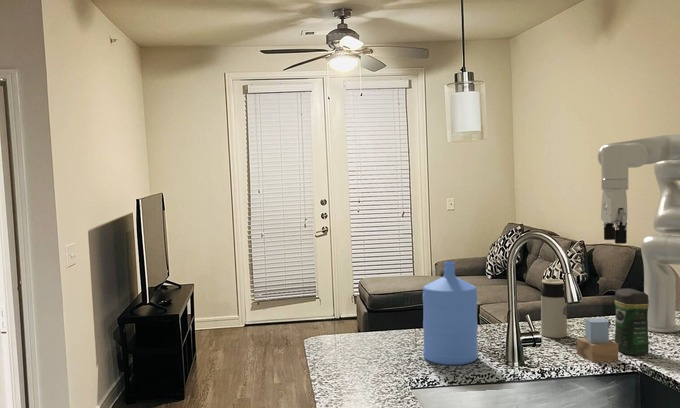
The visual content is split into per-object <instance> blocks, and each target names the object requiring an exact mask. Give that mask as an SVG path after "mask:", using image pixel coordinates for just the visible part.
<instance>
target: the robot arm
mask: <svg viewBox="0 0 680 408" xmlns="http://www.w3.org/2000/svg"><path fill="white" fill-rule="evenodd" d="M597 161H598V163H599V165H600V166H601V169H600V172H601V179H600V180H601V186H600V187H601V191H602V194H601V206H600V208H601V210H600V219H601V221H602V222H603V240H605V241H614V243H615V244H617V245H618V244H620V245H621V244H627V243H628V242H627V236H628V235H627V230H628V226H627V225H628V196H627V191H628V190H629V169H634V168H640V167H643V166H644V165H652V164H653V171H654V176H655V179H656V182H657V185H658V188H659V193H660V194H659V199H658V203H657V207H656V210H655V214H654V218H653V221H652V222H653V225H652V226H653V229H654V231H655V232H657V233H659V234H651V235H647V236H646V237H644V238H643V239H642V241H641V244H640V251H641V256H642V262H643V280H644V281H643V292H644V293H645V294H647V295H648V299H649V307H648V332H654V333H677V332H679V331H680V325H679V324H677V323H676V302H677V301H676V299H677V298H676V297H677V296H676V294H677V293H676V291H677V290H676V282H677V280H676V275H675V273H674V271H673V269H672V267H671V266H670V265H676V266H680V184H679V182H680V134H663V135H655V136H650V137H646V138H637V139H632V140H626V141H624V140H623V141H619V142H618V141H617V142H611V143H606V144H603V145H602V146H601V147H600V148H599V150H598V152H597ZM678 181H679V182H678Z"/></svg>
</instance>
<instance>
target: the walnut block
mask: <svg viewBox="0 0 680 408" xmlns="http://www.w3.org/2000/svg"><path fill="white" fill-rule="evenodd" d="M576 342H577V343H576V344H577V345H576V347H577V348H576V349H577V351H576V355H577V356H580V357H581V356H582V357H581V358H584V360H587V361H589V362H591V363H598V362H599V363H600V362H612V361H613V362H614V361H619V351H618V343H616V342H615V341H613V340H611V339H609V343H590V342H589V341H588V340H586V339H585V337H581V338H580V337H577V339H576Z"/></svg>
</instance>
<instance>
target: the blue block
mask: <svg viewBox="0 0 680 408" xmlns="http://www.w3.org/2000/svg"><path fill="white" fill-rule="evenodd" d="M584 324H585V327H584V328H585V329H584V330H585V333H584V335H585V337H584V338H585V339H586V340H588V341H589V342H590V343H609V340H610V339H609V338H610V335H609V334H610V331H609V330H610V329H609V328H610V327H609V326H610V325H609V321H607V319H605V318H604V317H600V318H599V317H593V318H592V317H591V318H590V317H588V318H587V317H585V318H584Z"/></svg>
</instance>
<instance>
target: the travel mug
mask: <svg viewBox="0 0 680 408" xmlns="http://www.w3.org/2000/svg"><path fill="white" fill-rule="evenodd" d="M563 280H564V279H559V278H558V279H557V278H546V279H545V278H544V279H542V280H541V283H542V287H541V290H540V328H541V329H540V330H541V331H540V334H541V336H543V337H545V338H549V339H562V338H565V337H567V335H568V303H567V304H566V303H565V299H564V290H563Z"/></svg>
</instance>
